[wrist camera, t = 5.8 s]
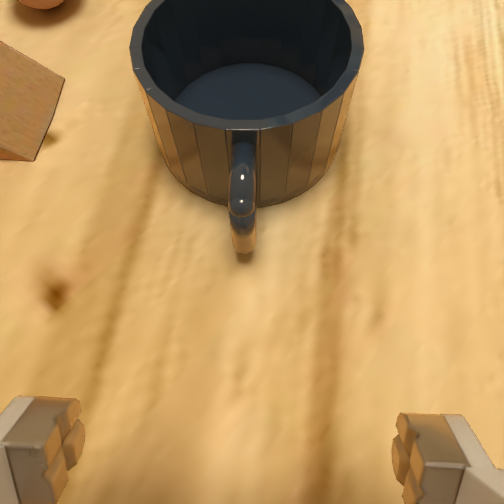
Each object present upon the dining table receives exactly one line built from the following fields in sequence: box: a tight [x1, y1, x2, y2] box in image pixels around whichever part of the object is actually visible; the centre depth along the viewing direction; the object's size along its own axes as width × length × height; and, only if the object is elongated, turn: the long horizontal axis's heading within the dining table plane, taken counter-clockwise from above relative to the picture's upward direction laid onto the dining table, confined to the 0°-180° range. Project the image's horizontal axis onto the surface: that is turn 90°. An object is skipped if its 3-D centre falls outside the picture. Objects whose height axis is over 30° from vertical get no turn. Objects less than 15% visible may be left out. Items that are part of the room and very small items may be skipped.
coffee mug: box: [129, 0, 364, 253], centre depth 27 cm, size 18×13×8 cm
